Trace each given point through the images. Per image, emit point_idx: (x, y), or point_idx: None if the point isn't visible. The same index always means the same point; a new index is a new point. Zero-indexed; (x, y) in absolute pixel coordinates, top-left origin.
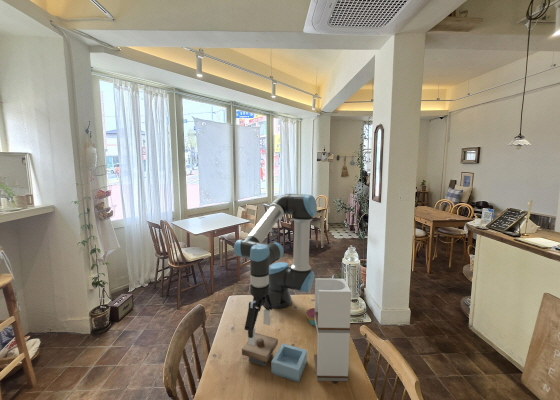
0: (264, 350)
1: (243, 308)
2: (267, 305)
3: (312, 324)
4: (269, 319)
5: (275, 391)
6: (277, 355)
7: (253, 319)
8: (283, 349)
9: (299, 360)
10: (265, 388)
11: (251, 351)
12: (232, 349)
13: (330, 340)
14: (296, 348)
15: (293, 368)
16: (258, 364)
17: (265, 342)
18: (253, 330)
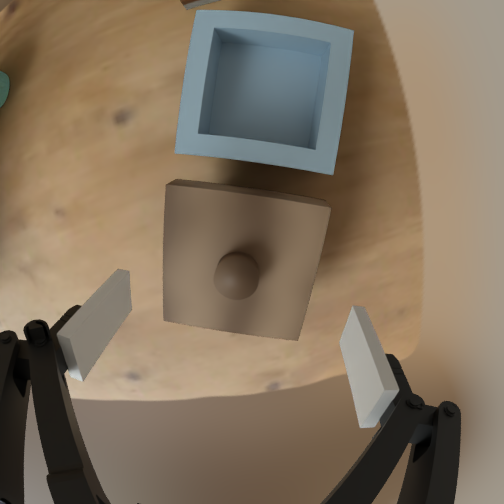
0: (286, 233)
1: None
2: (61, 409)
3: (7, 90)
4: (104, 291)
5: (397, 134)
6: (280, 151)
7: (435, 472)
8: (208, 134)
9: (286, 30)
10: (392, 175)
11: (306, 296)
12: (230, 352)
13: None
14: (196, 61)
15: (349, 54)
16: None
17: (218, 246)
18: (391, 386)
